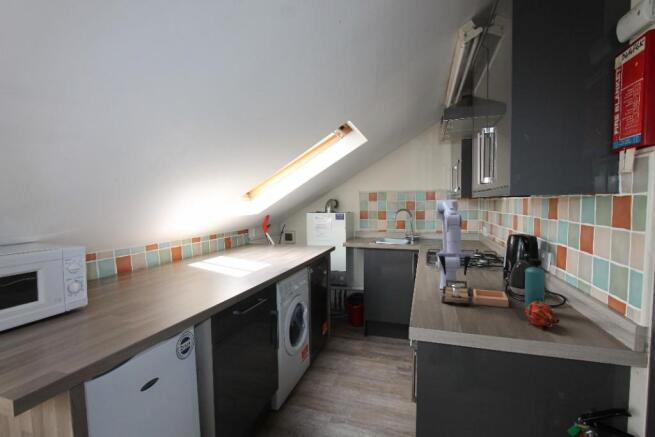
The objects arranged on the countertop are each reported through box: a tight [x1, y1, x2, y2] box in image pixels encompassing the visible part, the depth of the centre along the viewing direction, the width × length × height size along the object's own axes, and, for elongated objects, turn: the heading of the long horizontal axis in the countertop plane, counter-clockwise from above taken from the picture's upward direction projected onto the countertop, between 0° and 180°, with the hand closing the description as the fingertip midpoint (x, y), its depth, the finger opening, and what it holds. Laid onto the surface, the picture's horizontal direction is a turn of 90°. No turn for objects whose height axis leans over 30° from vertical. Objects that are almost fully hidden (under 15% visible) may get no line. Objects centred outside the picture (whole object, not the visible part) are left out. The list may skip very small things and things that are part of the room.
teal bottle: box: [524, 258, 546, 308], centre depth 119 cm, size 6×7×20 cm
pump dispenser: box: [508, 259, 535, 297], centre depth 140 cm, size 10×10×15 cm
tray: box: [472, 288, 509, 309], centre depth 131 cm, size 12×12×3 cm
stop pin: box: [452, 283, 462, 305], centre depth 130 cm, size 3×3×8 cm
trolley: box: [441, 279, 473, 306], centre depth 136 cm, size 20×11×6 cm, turn 158°
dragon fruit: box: [524, 301, 561, 329], centre depth 106 cm, size 8×8×12 cm
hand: (455, 274), depth 130 cm, fingers open, 7 cm apart
